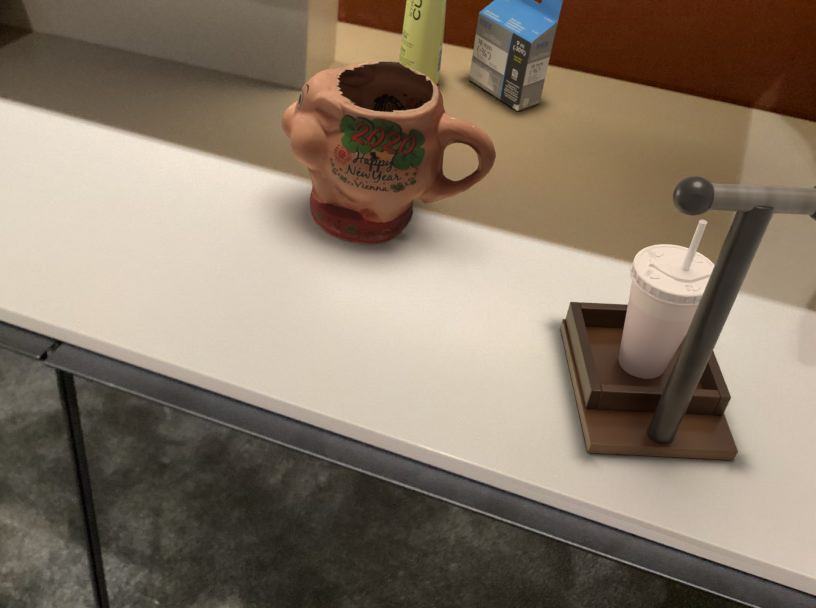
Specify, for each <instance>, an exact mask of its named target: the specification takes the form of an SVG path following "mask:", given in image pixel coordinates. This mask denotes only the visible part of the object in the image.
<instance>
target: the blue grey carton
mask: <svg viewBox="0 0 816 608" xmlns="http://www.w3.org/2000/svg"><path fill="white" fill-rule="evenodd" d="M563 3H564V0H541V2H540V3H539V2H538V1H536V0H493V1H491V2H490V3H489V4H488V5H487V6H485V7H484V8H483V9H482V10H480V11H479V12H478V17H477V24H476V30H475V36H474V42H473V49H472V55H471V56H472V57H471V63H470V69H469V76H468V80H469V81H470V82H472V83H473V84H475V85H477V86H478V87H480V88H481V89H483V90H485V91H486V92H488V94H491V95H492V96H493V97H495V98H497V99H498V100H500V101H502V102H503V103H505V104H506V105H507V106H509V107H511V108H512V109H514V110H515V111H517V112H521V111H523V110H527V109H529V108H532V107H535V106H538V105H539V104H540V103H541V99H542V94H543V91H544V85H545V82H546V76H547V72H548V69H549V68H548V67H549V63H550V60H551V59H550V58H551V55H552V50H553V46H554V41H555V36H556V32H557V28H558V24H559V18H560V15H561V12H562V11H561V10H562V6H563Z"/></svg>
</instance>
